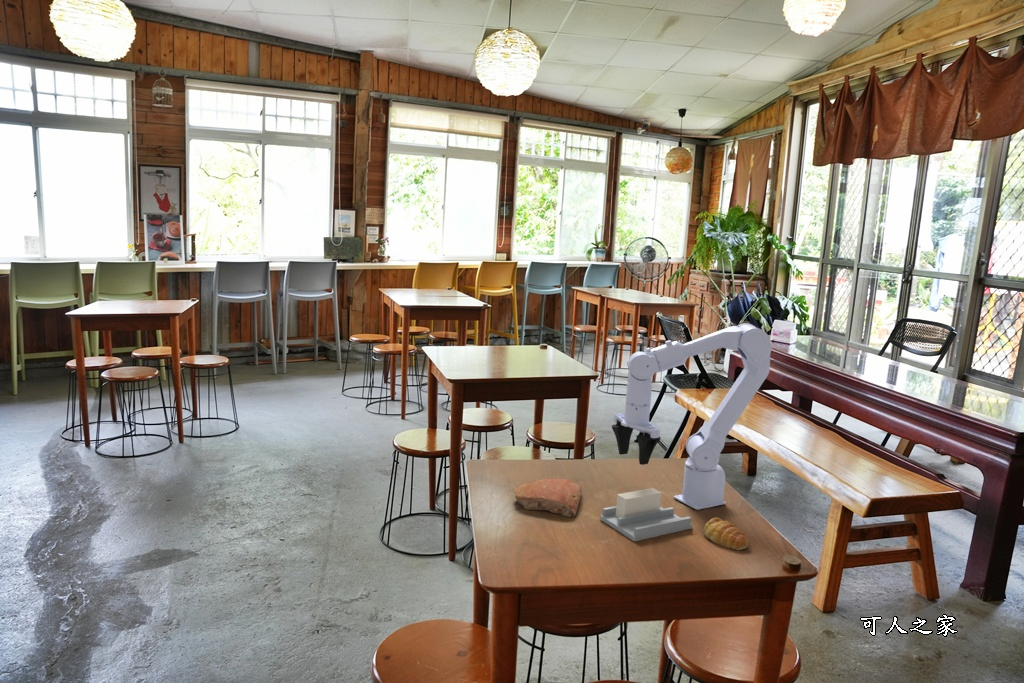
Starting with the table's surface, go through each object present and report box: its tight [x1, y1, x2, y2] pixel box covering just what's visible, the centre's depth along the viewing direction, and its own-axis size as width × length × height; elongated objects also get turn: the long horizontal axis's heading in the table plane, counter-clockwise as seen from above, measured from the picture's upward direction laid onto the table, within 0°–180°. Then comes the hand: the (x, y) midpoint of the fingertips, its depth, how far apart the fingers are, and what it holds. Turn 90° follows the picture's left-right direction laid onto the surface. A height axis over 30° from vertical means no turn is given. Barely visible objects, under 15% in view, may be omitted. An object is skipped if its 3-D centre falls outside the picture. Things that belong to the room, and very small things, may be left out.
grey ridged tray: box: [599, 505, 693, 542], centre depth 150 cm, size 16×12×2 cm
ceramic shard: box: [514, 478, 583, 518], centre depth 160 cm, size 15×6×15 cm
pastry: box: [702, 517, 750, 551], centre depth 144 cm, size 9×7×4 cm
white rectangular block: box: [615, 487, 663, 518], centre depth 152 cm, size 10×3×5 cm, turn 119°
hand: (633, 458), depth 164 cm, fingers open, 7 cm apart
